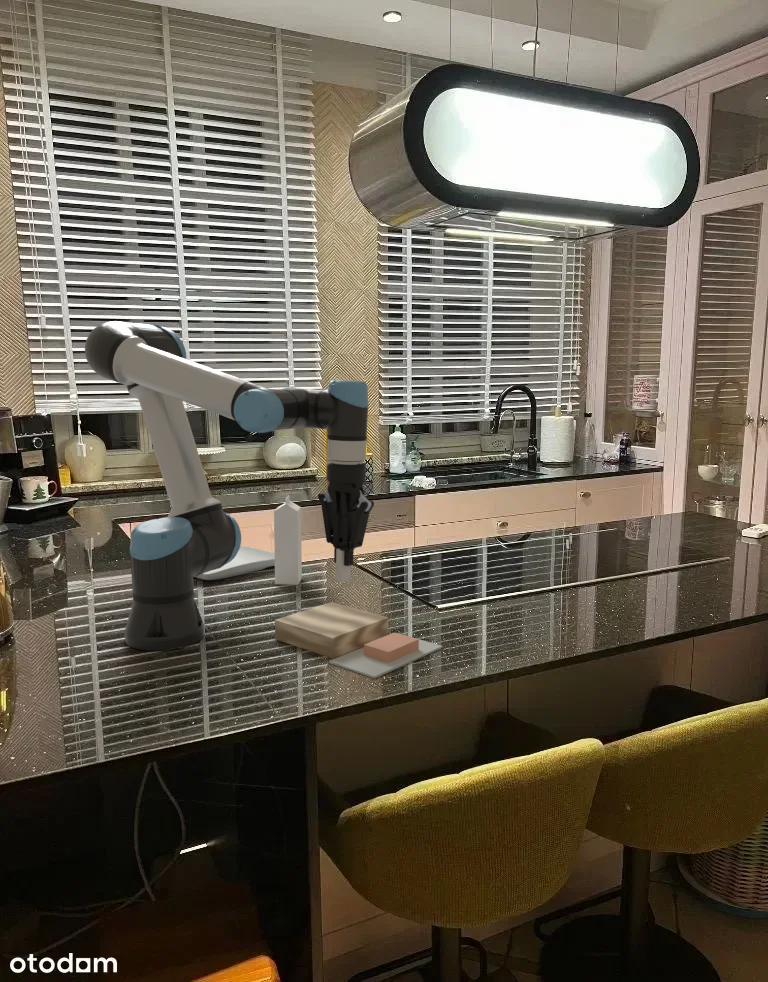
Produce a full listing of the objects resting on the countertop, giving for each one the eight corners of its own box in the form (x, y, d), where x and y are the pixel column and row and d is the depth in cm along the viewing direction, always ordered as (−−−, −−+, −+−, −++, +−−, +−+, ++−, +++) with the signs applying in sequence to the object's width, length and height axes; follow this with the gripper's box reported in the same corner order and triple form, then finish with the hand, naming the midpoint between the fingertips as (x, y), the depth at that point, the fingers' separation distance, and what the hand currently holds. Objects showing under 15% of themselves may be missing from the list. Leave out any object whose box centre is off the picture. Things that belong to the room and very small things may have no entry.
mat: (374, 678, 130) (374, 676, 130) (329, 663, 137) (329, 660, 137) (442, 647, 145) (442, 645, 145) (398, 635, 152) (398, 633, 152)
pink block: (363, 644, 140) (363, 654, 140) (388, 652, 136) (388, 662, 137) (394, 632, 147) (394, 642, 147) (418, 639, 143) (418, 649, 143)
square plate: (289, 568, 207) (288, 554, 207) (205, 588, 187) (205, 573, 186) (229, 552, 225) (228, 540, 225) (147, 569, 205) (146, 555, 204)
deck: (332, 658, 139) (332, 637, 139) (275, 639, 150) (274, 619, 149) (388, 636, 151) (388, 617, 151) (331, 620, 162) (331, 602, 161)
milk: (275, 584, 189) (272, 498, 186) (279, 578, 195) (277, 494, 192) (299, 584, 189) (297, 498, 186) (302, 578, 195) (300, 494, 192)
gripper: (385, 463, 143) (380, 583, 147) (335, 456, 151) (332, 570, 155) (358, 466, 137) (354, 591, 141) (308, 459, 145) (306, 577, 149)
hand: (343, 580), depth 148 cm, fingers closed
